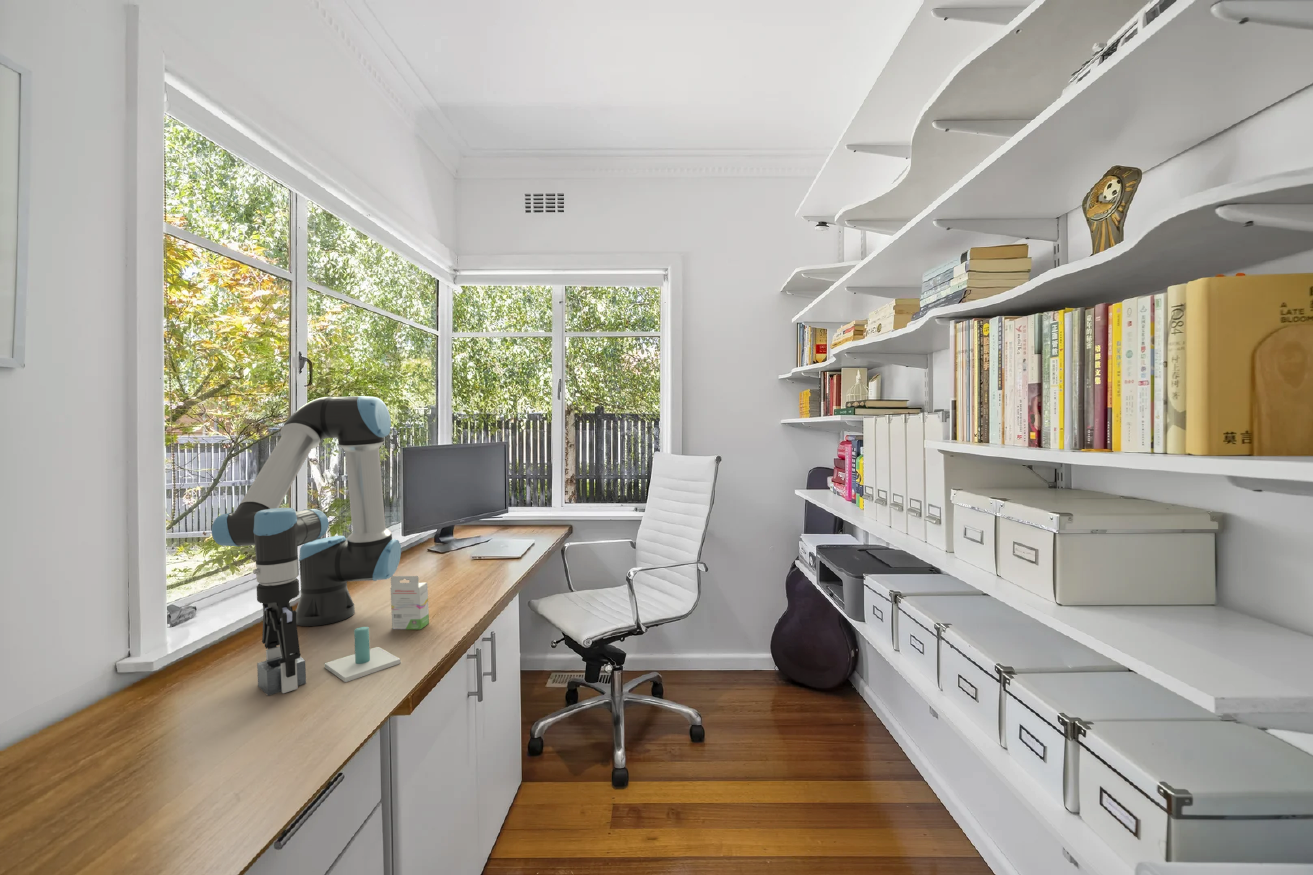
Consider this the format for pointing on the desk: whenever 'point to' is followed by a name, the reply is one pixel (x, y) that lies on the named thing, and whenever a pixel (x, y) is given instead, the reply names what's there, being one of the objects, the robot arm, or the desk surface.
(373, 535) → the robot arm
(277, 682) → the collar
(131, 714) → the desk surface
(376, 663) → the post stand
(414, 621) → the ink box
